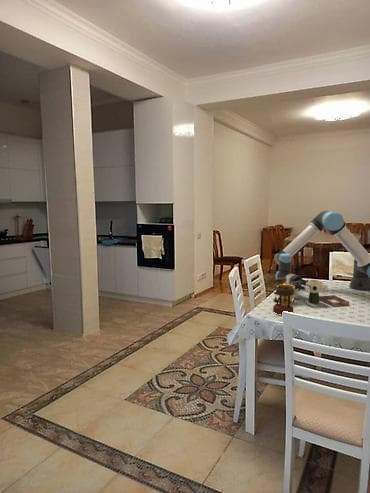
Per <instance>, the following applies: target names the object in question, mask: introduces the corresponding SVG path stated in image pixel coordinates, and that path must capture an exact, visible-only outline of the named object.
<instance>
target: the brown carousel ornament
mask: <svg viewBox="0 0 370 493" xmlns="http://www.w3.org/2000/svg"><path fill="white" fill-rule="evenodd" d="M284 285H287V284H284V283H280V286H284ZM278 286H279V284H278V285H276V288H277V287H278ZM287 286H288V287H292V288H293V289H294V294H295V293H296V289H295V286H293V285H287ZM294 294H293V295H292V296H290V301H293V299H294ZM278 297H279V298H280V295H278ZM286 298H287V300H288V296H287V297H286ZM282 299H284V296H282ZM281 301H282V303H281V304H288V301H287V302H285V303H283V300H281Z"/></svg>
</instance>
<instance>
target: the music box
mask: <svg viewBox="0 0 370 493" xmlns="http://www.w3.org/2000/svg"><path fill="white" fill-rule="evenodd" d="M273 281H275V285H277V283H278V285H279V286H278V285H277V286H278V287H277V286H276V288H275V291H274V292H273V294H274V295H275V297H274V299H273V303H275V304H274V305H273V308H272V312H275V313H277V314H281V315H282V312H283V311H288V312H293V313H294V307H293V305H291V303H292V304H294V303H295V301H300V300H301V299H299V298H295V297H293V299H292V301H290V296H292V295H293V296H294V294H295V293H294V289H293V288H292V287H288V286H287V285H284V286H280V285H281V284H284V283H283V282H285V284H286V278H285V277H283V278H278V279H276V278H275V279H273ZM279 295H280V298H279ZM277 296H278V297H277ZM282 296H284V299H282ZM287 296H288V300H287V298H286V297H287ZM281 300H283V303H282V301H281ZM287 301H288V304H284V303H285V302H287ZM275 313H274V314H275ZM277 314H276V315H277ZM281 315H280V316H281Z"/></svg>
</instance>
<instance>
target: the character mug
mask: <svg viewBox="0 0 370 493" xmlns="http://www.w3.org/2000/svg"><path fill="white" fill-rule="evenodd" d="M308 280H309V281H308V283H307V282H306V286H307V284H308V286H307V287H310V292H308V293H309V294H308V298H307V299H308V302H312V303H318V302H319V301H320V300H319V296H320V294H319V293H320V292H323V291H324V290H325V289H324V286H323V285H321V282H322V281H321V280H317V279H308ZM321 287H322V288H321Z"/></svg>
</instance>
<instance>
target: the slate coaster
mask: <svg viewBox="0 0 370 493" xmlns="http://www.w3.org/2000/svg"><path fill="white" fill-rule="evenodd" d="M299 301H300V302H301V303H303V304H305V305H307V306H309V307H310V308H325V307H326V308H327V307H329V305H328V304H326V303H324V302H322V301H320V300H319V302H318V303H312V302H308V298H306V299H304V298H303V299H300V300H299Z"/></svg>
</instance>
